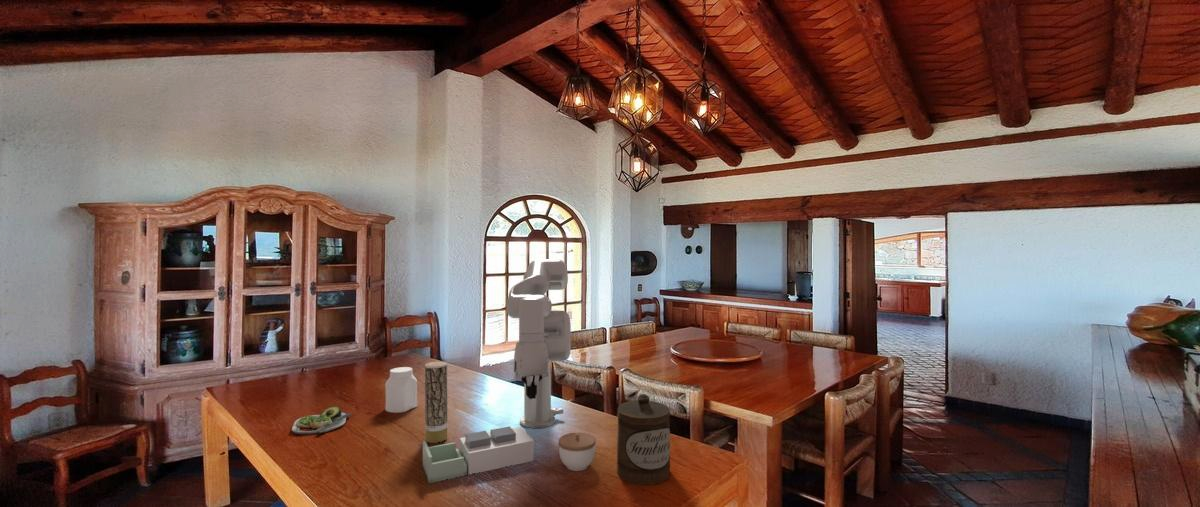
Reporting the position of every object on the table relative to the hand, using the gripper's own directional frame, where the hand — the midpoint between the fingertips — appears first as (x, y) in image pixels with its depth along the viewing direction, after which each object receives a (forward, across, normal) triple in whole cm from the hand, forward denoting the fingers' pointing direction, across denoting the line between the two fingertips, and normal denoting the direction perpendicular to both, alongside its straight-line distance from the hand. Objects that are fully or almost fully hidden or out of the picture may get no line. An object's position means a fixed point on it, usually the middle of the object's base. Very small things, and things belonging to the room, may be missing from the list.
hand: (531, 397), depth 148 cm
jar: (+16, +31, -63) cm, 72 cm away
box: (+17, +26, -1) cm, 31 cm away
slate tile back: (+11, +9, -1) cm, 14 cm away
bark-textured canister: (+17, +24, -24) cm, 38 cm away
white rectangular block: (+17, +11, -1) cm, 20 cm away
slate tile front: (+11, +16, -1) cm, 20 cm away
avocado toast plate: (+17, +58, -57) cm, 83 cm away
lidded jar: (+18, -9, +14) cm, 24 cm away
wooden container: (+18, -24, +26) cm, 40 cm away
